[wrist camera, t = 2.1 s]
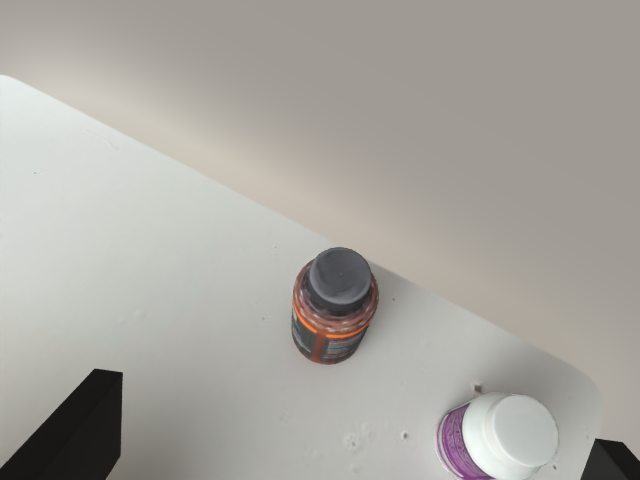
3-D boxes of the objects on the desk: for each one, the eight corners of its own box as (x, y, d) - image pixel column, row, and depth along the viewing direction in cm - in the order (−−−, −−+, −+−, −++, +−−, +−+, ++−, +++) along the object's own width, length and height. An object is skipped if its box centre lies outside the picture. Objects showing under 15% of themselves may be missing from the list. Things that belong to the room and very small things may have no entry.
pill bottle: (467, 500, 33) (532, 504, 24) (417, 436, 34) (461, 419, 26) (515, 451, 34) (590, 439, 26) (465, 393, 36) (521, 364, 28)
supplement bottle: (375, 332, 38) (408, 277, 28) (326, 382, 36) (343, 341, 26) (326, 285, 40) (340, 218, 30) (276, 329, 38) (274, 272, 28)
